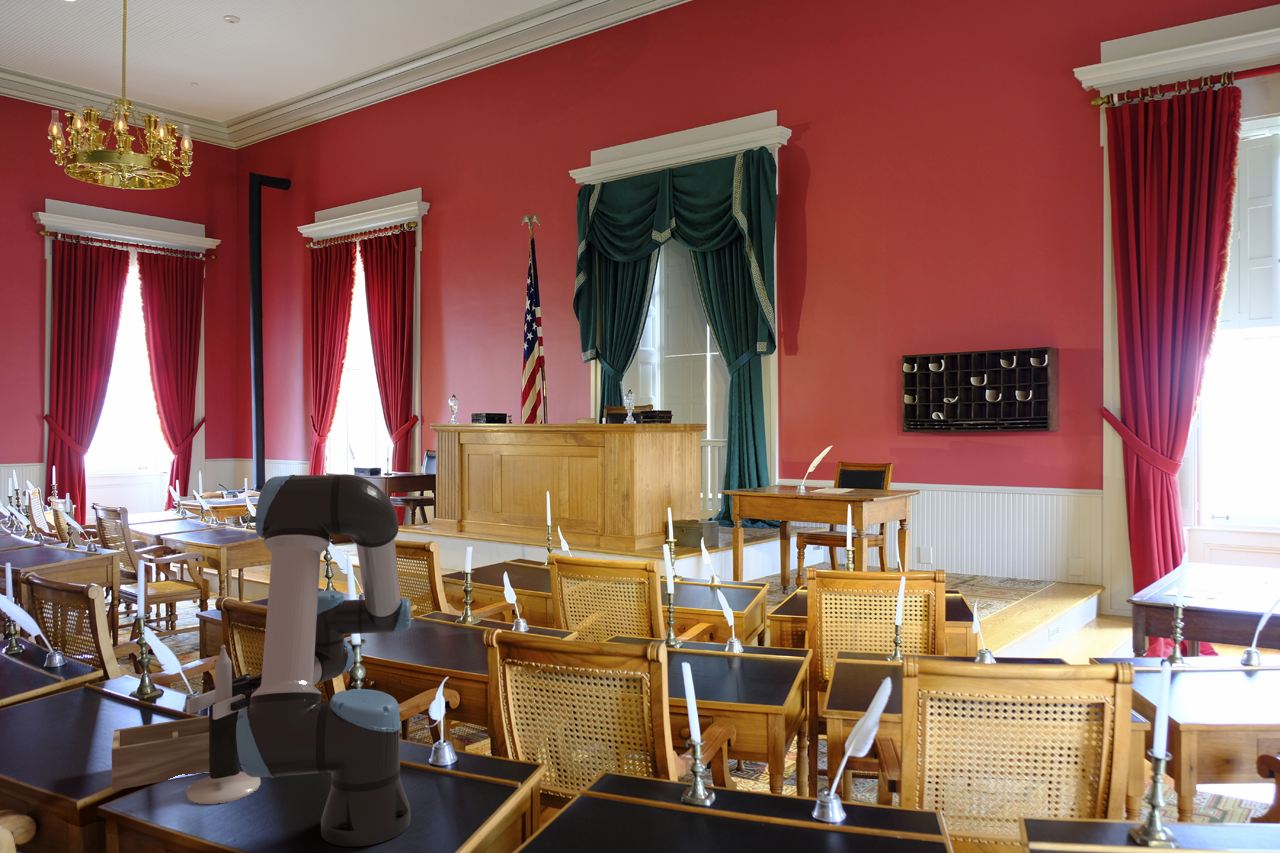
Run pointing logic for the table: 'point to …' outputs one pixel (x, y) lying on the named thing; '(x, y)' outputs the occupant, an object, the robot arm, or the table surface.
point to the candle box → (159, 752)
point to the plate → (222, 789)
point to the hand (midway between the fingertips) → (201, 709)
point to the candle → (223, 724)
